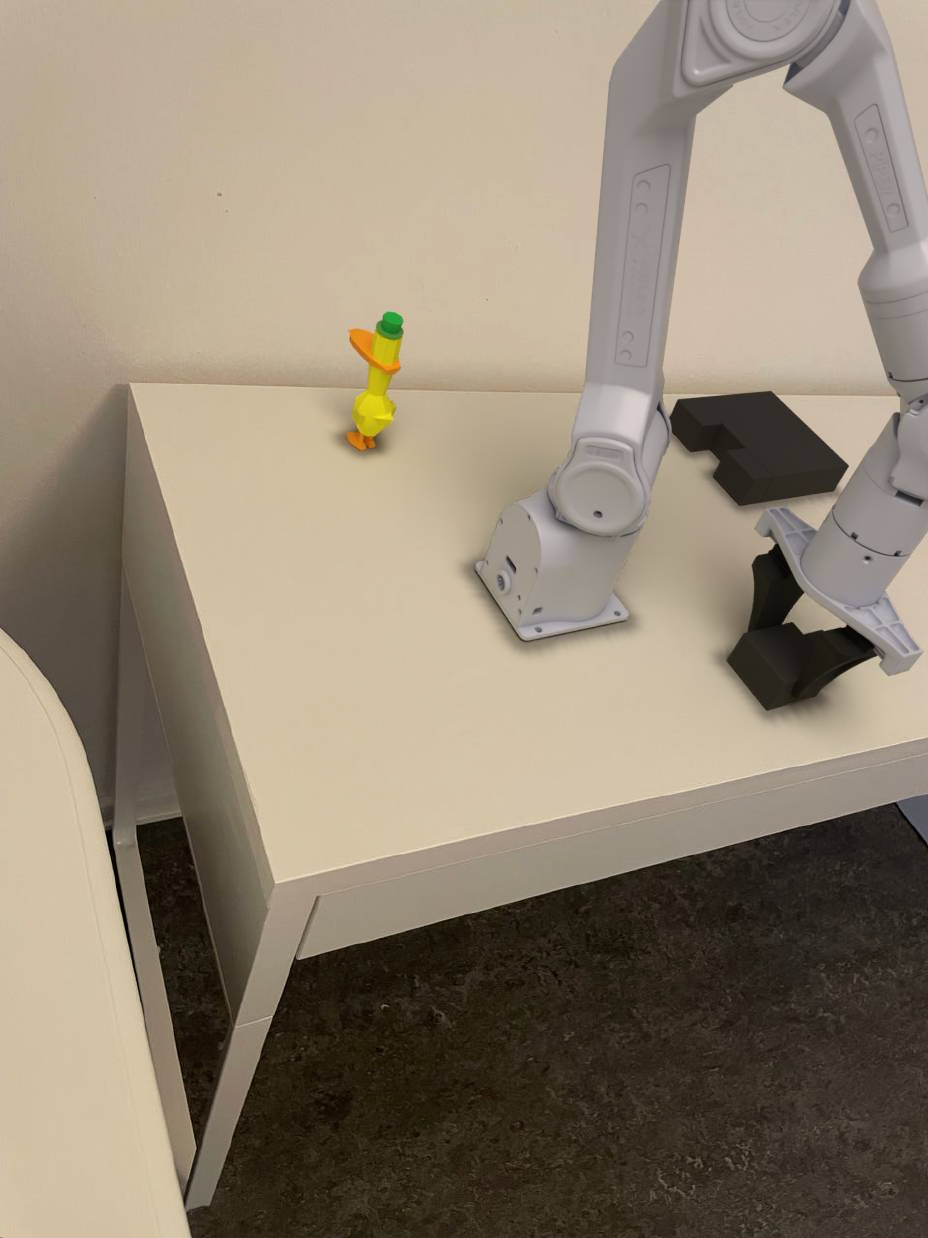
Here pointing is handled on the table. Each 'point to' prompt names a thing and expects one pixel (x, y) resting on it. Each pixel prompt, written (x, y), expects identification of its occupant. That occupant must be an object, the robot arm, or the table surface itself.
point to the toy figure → (376, 378)
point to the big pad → (757, 446)
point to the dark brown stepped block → (773, 661)
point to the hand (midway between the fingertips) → (779, 666)
